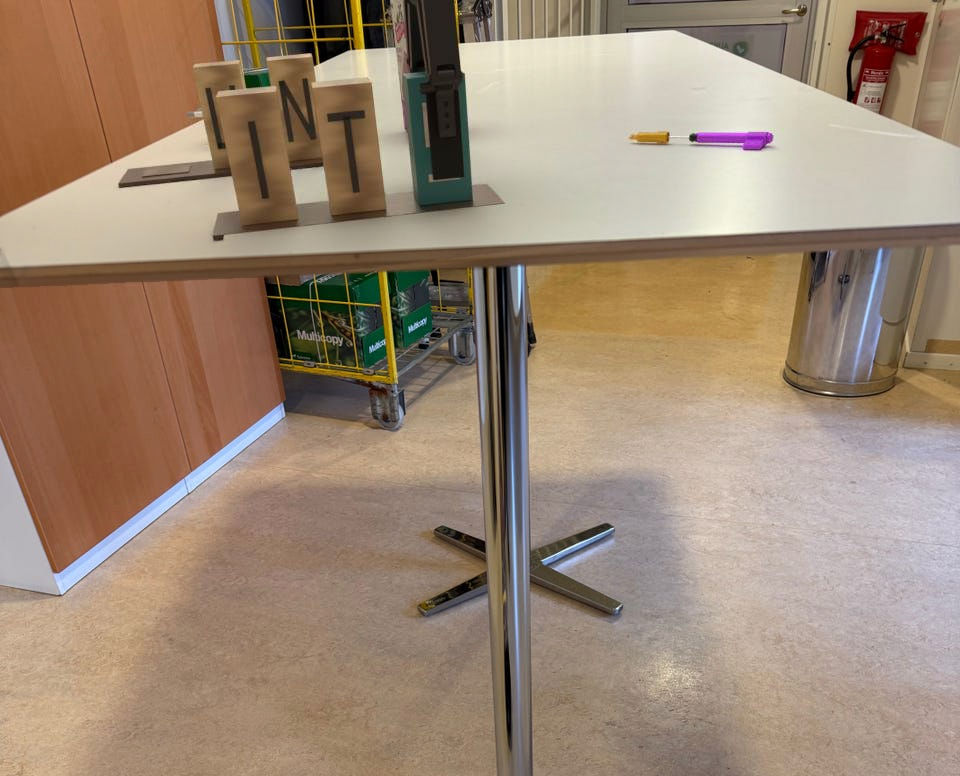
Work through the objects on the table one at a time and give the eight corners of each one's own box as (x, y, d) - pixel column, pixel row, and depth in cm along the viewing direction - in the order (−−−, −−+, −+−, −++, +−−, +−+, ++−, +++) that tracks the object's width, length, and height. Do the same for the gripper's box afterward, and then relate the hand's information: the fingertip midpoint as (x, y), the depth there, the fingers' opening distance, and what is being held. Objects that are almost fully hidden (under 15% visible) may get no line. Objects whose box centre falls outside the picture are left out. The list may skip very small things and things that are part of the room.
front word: (213, 240, 80) (182, 103, 74) (218, 217, 87) (190, 90, 81) (505, 207, 83) (499, 72, 76) (487, 187, 90) (480, 63, 83)
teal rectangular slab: (419, 206, 83) (407, 78, 77) (413, 197, 87) (401, 73, 81) (473, 200, 84) (465, 72, 78) (465, 191, 87) (457, 68, 81)
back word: (118, 187, 102) (88, 79, 96) (128, 172, 109) (101, 70, 103) (350, 162, 105) (336, 56, 99) (345, 150, 112) (332, 49, 106)
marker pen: (774, 141, 97) (632, 140, 104) (774, 129, 96) (631, 129, 103) (766, 153, 96) (623, 150, 103) (766, 141, 95) (622, 139, 102)
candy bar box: (401, 131, 121) (385, -22, 111) (438, 127, 122) (426, -26, 112) (419, 144, 112) (404, -21, 102) (459, 139, 113) (447, -25, 103)
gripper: (488, -177, 62) (504, 186, 76) (441, -148, 79) (461, 144, 93) (377, -170, 61) (414, 196, 75) (355, -142, 78) (388, 152, 92)
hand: (440, 167), depth 84 cm, fingers open, 9 cm apart
